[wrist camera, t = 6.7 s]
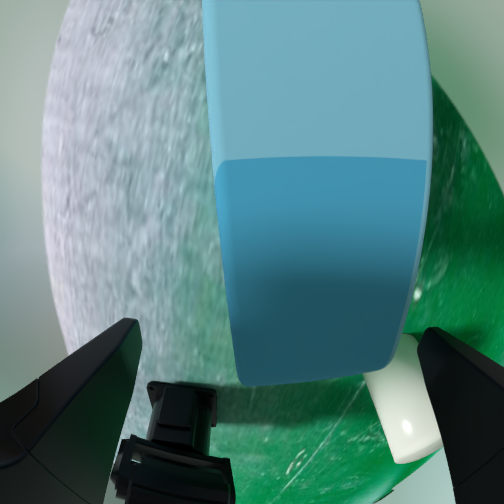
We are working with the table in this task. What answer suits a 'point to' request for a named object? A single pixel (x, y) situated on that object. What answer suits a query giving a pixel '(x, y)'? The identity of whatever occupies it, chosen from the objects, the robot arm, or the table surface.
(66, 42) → the table surface
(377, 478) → the table surface
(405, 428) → the white rounded cylinder
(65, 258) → the table surface
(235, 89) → the light blue rounded block
